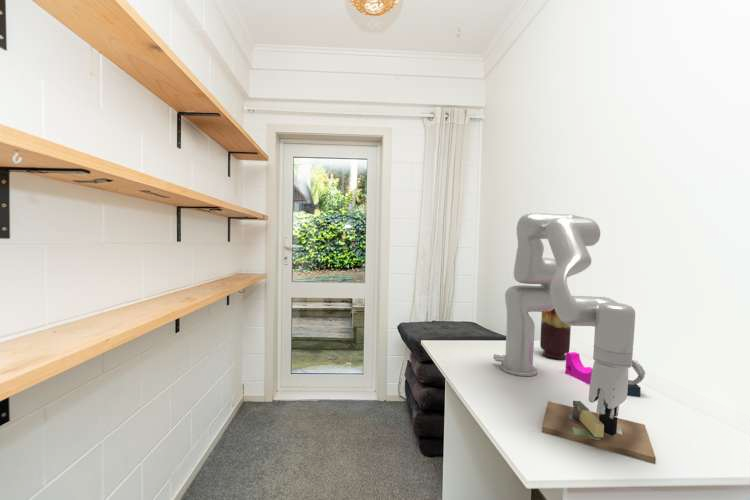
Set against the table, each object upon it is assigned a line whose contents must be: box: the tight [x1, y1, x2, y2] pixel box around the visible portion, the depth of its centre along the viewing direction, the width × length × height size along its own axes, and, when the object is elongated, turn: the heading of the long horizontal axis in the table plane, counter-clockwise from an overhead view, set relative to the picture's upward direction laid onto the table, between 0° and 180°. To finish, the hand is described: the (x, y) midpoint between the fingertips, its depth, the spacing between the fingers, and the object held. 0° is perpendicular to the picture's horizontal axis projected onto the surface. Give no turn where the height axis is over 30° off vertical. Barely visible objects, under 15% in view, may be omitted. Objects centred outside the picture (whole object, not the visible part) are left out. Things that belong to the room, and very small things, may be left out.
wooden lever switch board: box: [541, 400, 657, 464], centre depth 86 cm, size 22×16×2 cm
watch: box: [627, 359, 646, 398], centre depth 111 cm, size 6×8×11 cm
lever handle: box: [572, 400, 604, 437], centre depth 85 cm, size 12×4×4 cm, turn 173°
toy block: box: [564, 351, 593, 385], centre depth 121 cm, size 15×6×8 cm, turn 13°
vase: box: [539, 309, 572, 360], centre depth 146 cm, size 11×11×26 cm
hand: (607, 431), depth 82 cm, fingers closed
